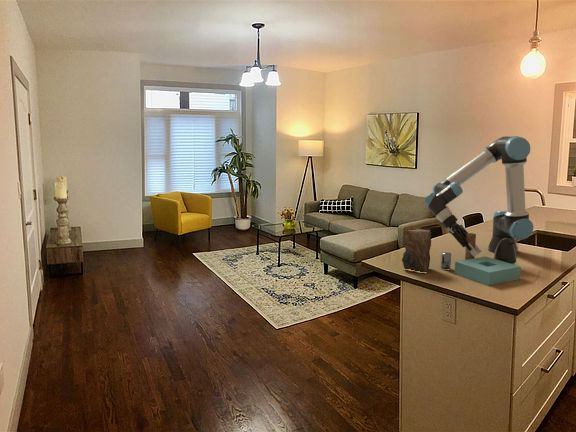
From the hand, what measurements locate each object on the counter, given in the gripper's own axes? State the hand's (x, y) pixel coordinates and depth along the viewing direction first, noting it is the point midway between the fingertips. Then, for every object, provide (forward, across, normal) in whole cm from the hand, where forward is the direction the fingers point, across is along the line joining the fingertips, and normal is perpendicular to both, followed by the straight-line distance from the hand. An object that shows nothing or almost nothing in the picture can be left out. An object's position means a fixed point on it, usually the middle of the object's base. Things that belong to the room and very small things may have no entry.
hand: (477, 253), depth 229 cm
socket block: (+11, +15, +2) cm, 19 cm away
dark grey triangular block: (+13, -5, +4) cm, 14 cm away
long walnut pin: (+2, 0, -7) cm, 7 cm away
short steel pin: (-3, +14, -12) cm, 19 cm away
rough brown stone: (-10, +26, -19) cm, 33 cm away
